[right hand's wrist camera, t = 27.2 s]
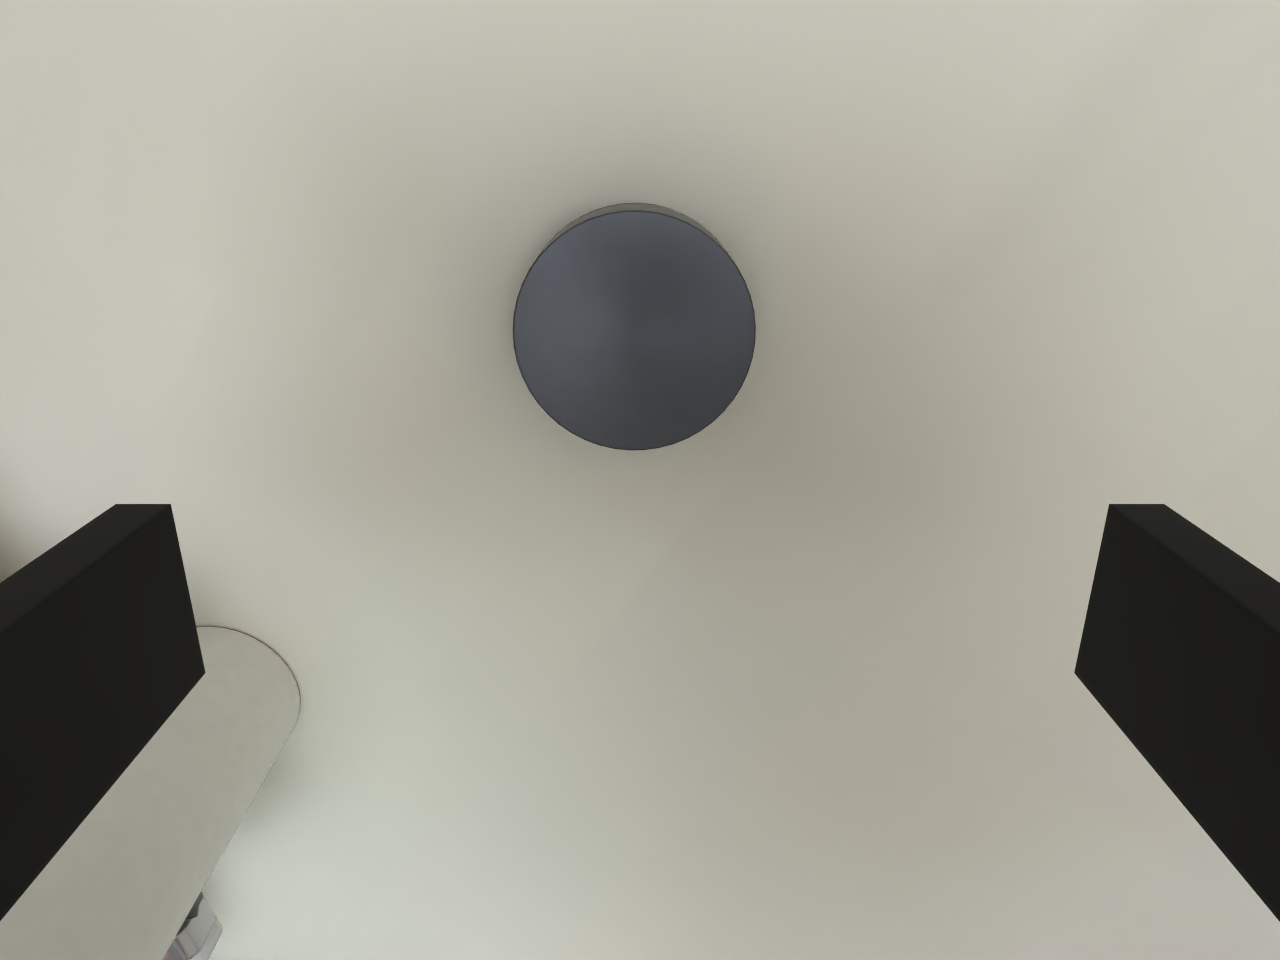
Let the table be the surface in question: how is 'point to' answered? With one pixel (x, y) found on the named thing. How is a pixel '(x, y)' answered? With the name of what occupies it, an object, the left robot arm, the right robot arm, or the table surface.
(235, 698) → the jar
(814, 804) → the table surface
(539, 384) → the lid
